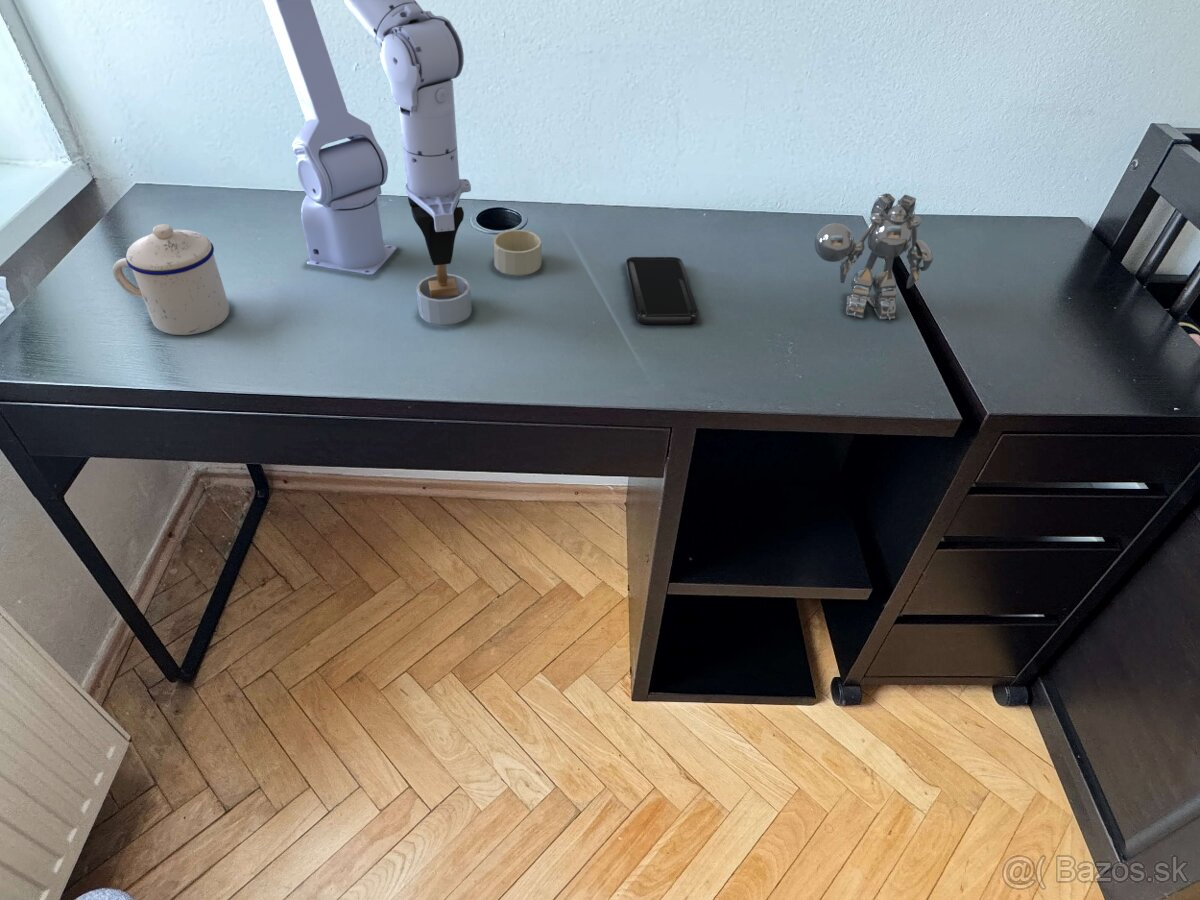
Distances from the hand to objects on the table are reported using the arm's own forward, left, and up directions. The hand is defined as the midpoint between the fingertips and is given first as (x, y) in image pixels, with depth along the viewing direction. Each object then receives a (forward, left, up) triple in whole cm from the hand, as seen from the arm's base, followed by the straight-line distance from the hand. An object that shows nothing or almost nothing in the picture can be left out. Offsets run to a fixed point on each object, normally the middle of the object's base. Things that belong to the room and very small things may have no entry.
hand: (440, 259), depth 95 cm
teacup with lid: (-30, -10, -8) cm, 33 cm away
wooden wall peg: (0, 0, -4) cm, 4 cm away
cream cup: (+5, +14, -8) cm, 17 cm away
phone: (+25, +13, -8) cm, 29 cm away
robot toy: (+51, +18, -8) cm, 54 cm away
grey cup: (0, 0, -8) cm, 8 cm away
